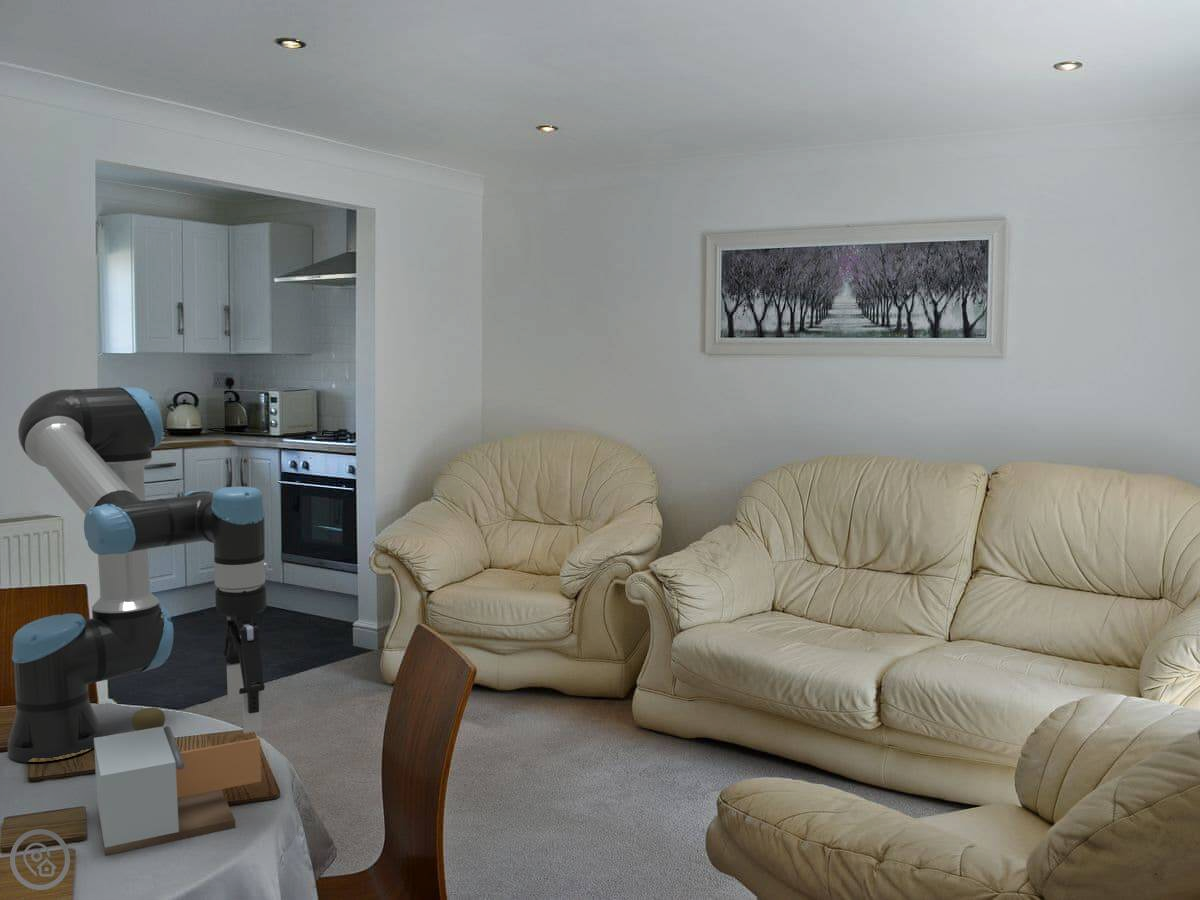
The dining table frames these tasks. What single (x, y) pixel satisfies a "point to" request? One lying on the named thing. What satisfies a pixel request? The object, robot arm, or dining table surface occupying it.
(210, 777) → the orange rectangular panel
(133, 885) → the dining table surface
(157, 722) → the olive brown ellipsoid
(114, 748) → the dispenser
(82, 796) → the dining table surface
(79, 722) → the robot arm
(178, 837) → the walnut board
